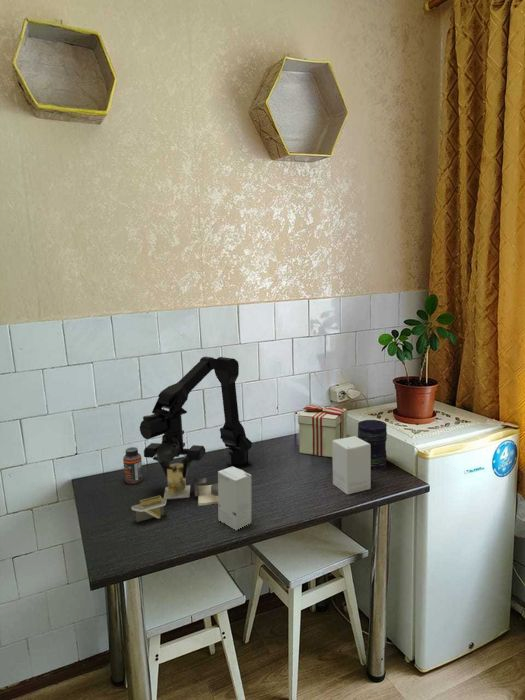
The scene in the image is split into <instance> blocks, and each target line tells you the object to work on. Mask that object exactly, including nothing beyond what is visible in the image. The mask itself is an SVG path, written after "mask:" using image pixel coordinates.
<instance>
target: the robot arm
mask: <svg viewBox="0 0 525 700" xmlns="http://www.w3.org/2000/svg"><path fill="white" fill-rule="evenodd" d="M239 367H240V364H239V361H238V360H237V359H236V358H233V357H231V358H230V357H226V356H224V357H223V356H218V357H217V358H214V357H211V356H202V357H200V359H199V361H198V362H197V363H196V364H195V365H193V367H191V369H190V370H189V371H188V372H187V373H186V374H184V376H183V377H181V379H180V380H179V381H178V382H176V383H174V384H172V385H169V386H167V387H166V388H164V389H163V390H161V391H160V392H159V393H158V397H157V400H156V402H155V404H154V407H153V409H152V411H151V413H152V414H150V415H144V416H142V421H141V422H140V423H139V424H140V426H139V432H140V435H141V436H142V438H144V440H150V439H153V438H156V437H158V436H162V437H161V443H160V442H159V443H158V442H151V443H149V445H147V446H146V447H145V448H144V449H143V457H144V458H152V461H157V462H158V463H159V464H160V465H159V466H161V468H162V471H163V473H164V475H165V476H166V478H167V466H168V465H170V462H173V460H175V458H178V457H180V456H181V455H182V456H184V458H183V459H182V460H181V463H182V464H183V475H184V478H186V479H187V476H188V473H189V469H190V466H191V465H192V462H193V461H197V462H198V461H200V460H202V458H203V457H204V456H205V455H206V454H207V453H206V448H205V446H204V445H196V444H193V445H191V447H190V448H184V447H186V443H185V442H184V435H185V430H183V421H182V420H183V419H182V415H185V414H188V411H187V410H186V409H184V408H183V407H184V405H185V403H186V402H187V400H188V398H189V394H190V393H191V392H192V391H193V390H194V389H195V388H196V387H197V385H198V384H200V382H201V381H203V379H205V377H206V376H207V375H208V374H210V373H211V371H212V370H214V373H215V376H216V378H217V380H218V381H219V383H220V386H221V395H222V405H223V406H222V407H223V414H224V424H223V426H222V427H220V428H219V433H220V439H221V441H222V443H224V447H225V448H228V452H227V464H228V465H230V467H232V466H233V467H235V468H238V469H240V468H243V467H246V466H250V465H251V464H252V463H251V462H250V461H249V450H250V449H252V445H253V442H252V441H251V440H250V439H249V438H248V437H247V435H246V431H245V427H244V425H242V422H241V421H240V416H239V406H238V397H237V388H236V387H237V386H236V382H237V379H238V377H239V372H240V371H239V370H240V368H239Z"/></svg>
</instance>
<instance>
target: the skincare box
mask: <svg viewBox="0 0 525 700" xmlns="http://www.w3.org/2000/svg"><path fill="white" fill-rule="evenodd" d="M217 483H218V504H217V506H218V507H217V511H218V512H217V514H218V515H217V517H218V521H219V522H220V521H221V522H220V523H222V524H224V523H225V524H224V525H226V526H229V528H231V529H232V530H234V529H235V530H234V531H238V529H239V530H241V529H242V527H243V528H245V527H247V526H249V525H251V524H252V474H250V473H248V472H246V471H244V470H243V469H240V468H235V467H233V466H230V467H227V468H226V467H225V468H224V469H221V470H218V471H217ZM250 523H251V524H250ZM248 524H249V525H248ZM246 525H247V526H246ZM244 526H245V527H244ZM240 528H241V529H240Z"/></svg>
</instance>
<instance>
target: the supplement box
mask: <svg viewBox="0 0 525 700" xmlns="http://www.w3.org/2000/svg"><path fill="white" fill-rule="evenodd" d="M331 458H332V485H334V486H335V487H337V488H338V489H339V490H340V491H342V492H343V493H344V494H346V495H351V494H355V493H360V492H364V491H367V490H371V487H372V485H371V480H372V478H371V477H372V475H371V474H372V473H371V444H369V443H367V442H365V441H363V440H361V439H359V438H358V436H356V435H353V436H347V438H342V439H337V440H333V441H332V457H331Z"/></svg>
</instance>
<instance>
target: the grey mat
mask: <svg viewBox="0 0 525 700" xmlns="http://www.w3.org/2000/svg"><path fill="white" fill-rule="evenodd" d="M168 490H169V489H168V486H165V488H164V494H163V498H166V500H174V499H184V498H186V499H187V498H190V496H191V495H190V493H191V485H190V484H189V485H187V484H186V488H185V489H184V490H181V491H176V492H175V493H174V495H169V494H168Z"/></svg>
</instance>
